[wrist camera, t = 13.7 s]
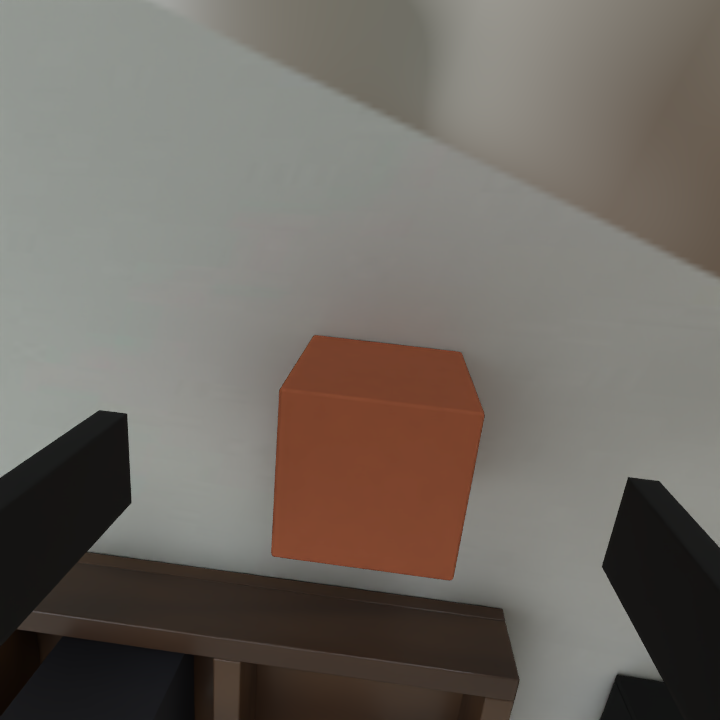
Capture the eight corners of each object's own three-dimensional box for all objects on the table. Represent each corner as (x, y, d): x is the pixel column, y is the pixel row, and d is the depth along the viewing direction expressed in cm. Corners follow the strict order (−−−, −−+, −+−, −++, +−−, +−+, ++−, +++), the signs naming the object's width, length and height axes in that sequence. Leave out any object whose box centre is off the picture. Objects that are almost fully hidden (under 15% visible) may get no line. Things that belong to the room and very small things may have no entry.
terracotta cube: (312, 334, 17) (278, 388, 12) (462, 351, 17) (485, 413, 12) (304, 464, 19) (270, 557, 14) (439, 482, 18) (453, 582, 14)
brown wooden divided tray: (12, 541, 21) (-52, 598, 18) (503, 608, 20) (520, 680, 17) (39, 724, 24) (-11, 798, 21) (460, 789, 23) (469, 876, 20)
